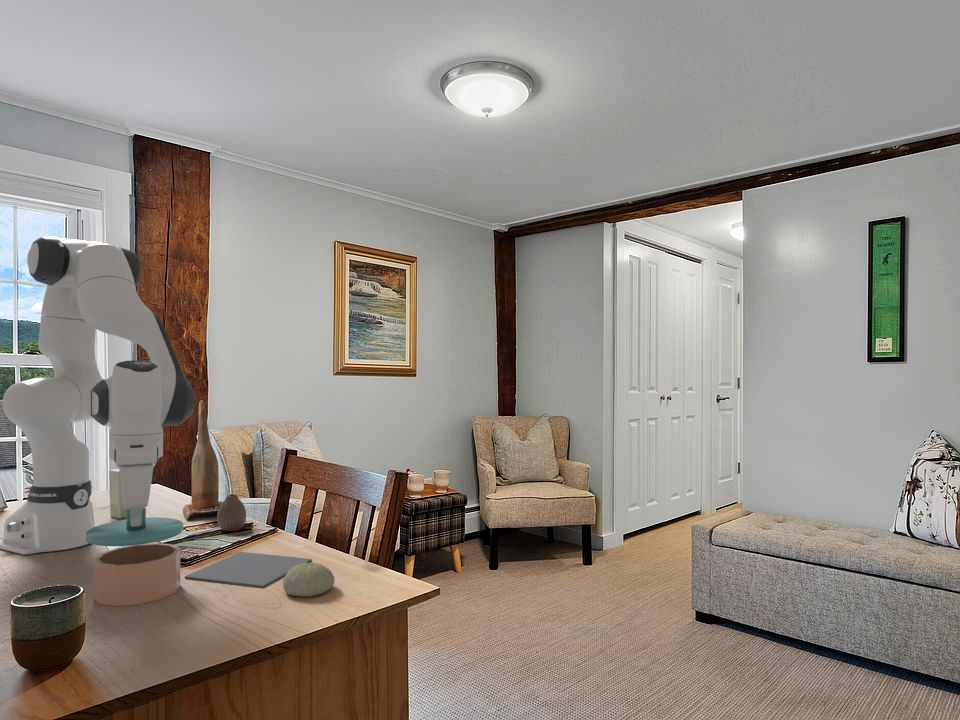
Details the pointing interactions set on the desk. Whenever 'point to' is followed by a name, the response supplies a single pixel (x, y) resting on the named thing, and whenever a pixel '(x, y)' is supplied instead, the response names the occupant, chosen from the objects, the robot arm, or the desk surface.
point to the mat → (248, 569)
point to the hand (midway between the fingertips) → (136, 522)
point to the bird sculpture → (203, 472)
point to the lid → (134, 531)
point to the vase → (231, 514)
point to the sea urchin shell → (308, 580)
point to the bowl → (136, 574)
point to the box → (116, 495)
